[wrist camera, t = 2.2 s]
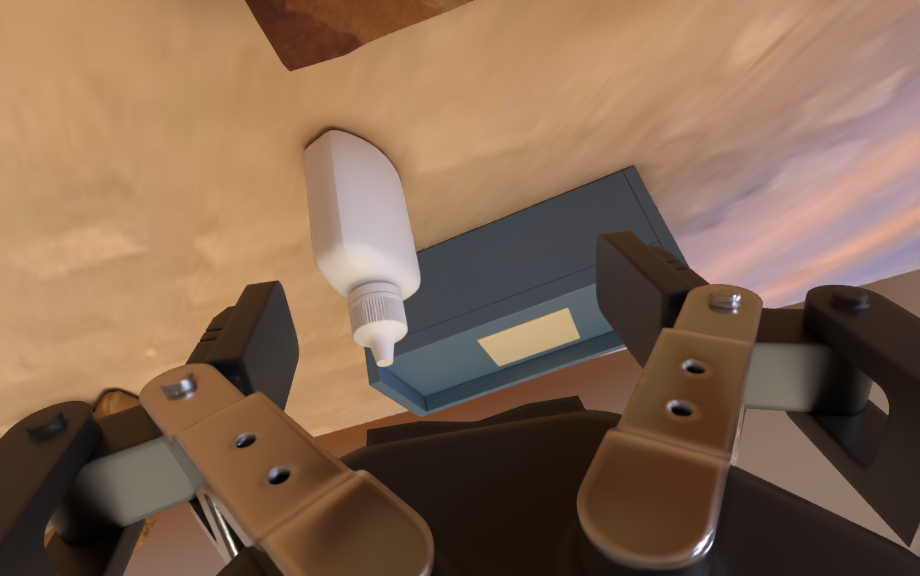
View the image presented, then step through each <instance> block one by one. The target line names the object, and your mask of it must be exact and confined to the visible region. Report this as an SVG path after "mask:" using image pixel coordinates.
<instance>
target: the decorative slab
mask: <svg viewBox="0 0 920 576" xmlns="http://www.w3.org/2000/svg"><path fill="white" fill-rule="evenodd" d="M245 1H246V3H247V4H248V6H249V8H250V10H251V11H252V13H253V15H254V17H255V18H256V20H257V22H258V24H259V25H260V27H261V29H262V30H263V32H264V33H265V35H266V37H267V38H268V40H269V42H270V43H271V45H272V47H273V48H274V50H275V52H276V53H277V55H278V56H279V58H280V60H281V61H282V63H283V65H284V66H285V67H286V68H287V69H288V70H289V71H293V70H296V69H299V68H303V67H306V66H310V65H313V64H316V63H320V62H323V61H327V60H330V59H333V58H336V57H340V56H343V55H346V54H348V53H350V52H352V51H353V50H355V49H357V48H359V47H360V46H362V45H364V44H366V43H368V42H370V41H372V40H375V39H377V38H380V37H382V36H385V35H387V34H389V33H392V32H395V31H397V30H400V29H402V28H405V27H408V26H410V25H413V24H416V23H418V22H421V21H423V20H426V19H429V18H431V17H434V16H437V15H439V14H442V13H444V12H447V11H450V10H452V9H454V8H457V7H459V6H461V5H464V4H466V3H468V2H471V1H473V0H245Z"/></svg>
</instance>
